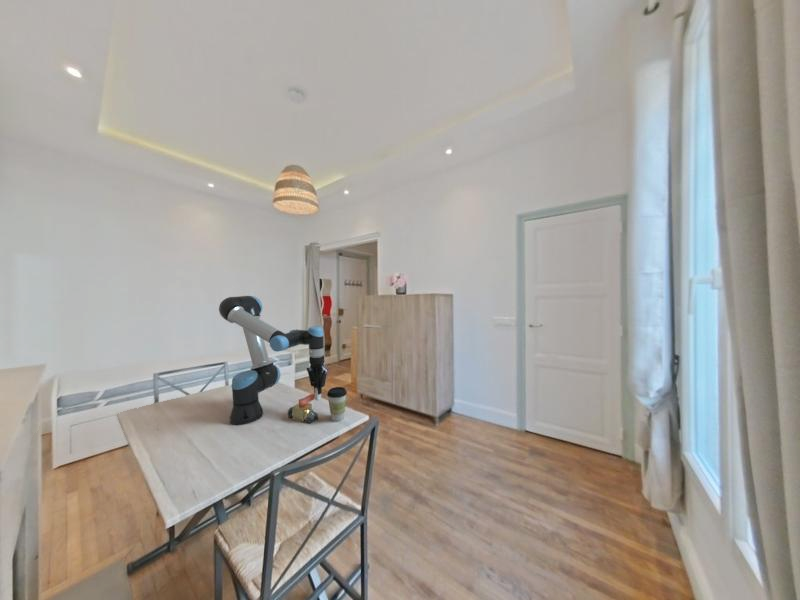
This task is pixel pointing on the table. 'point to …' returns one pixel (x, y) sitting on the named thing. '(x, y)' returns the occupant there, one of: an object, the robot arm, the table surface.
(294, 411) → the pipe run
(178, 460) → the table surface
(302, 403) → the lever
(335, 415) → the coffee cup
